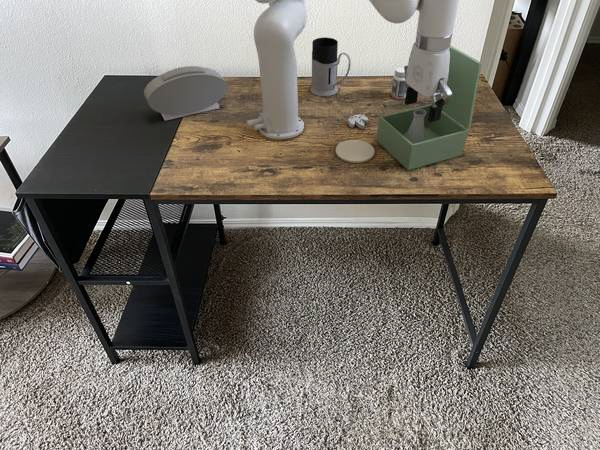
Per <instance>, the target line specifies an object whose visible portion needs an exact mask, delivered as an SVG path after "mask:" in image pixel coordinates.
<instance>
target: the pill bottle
mask: <svg viewBox="0 0 600 450" xmlns="http://www.w3.org/2000/svg"><path fill="white" fill-rule="evenodd" d="M404 67H405V66H398V67H395V69H394V75H393V76H392V85H391V92H390V96H391V97H392V98H394V99H397V100H403V99H404V100H405V98H406V90H407V89H406V86H405V85H406V80H405V75H406V74H405V71H404Z"/></svg>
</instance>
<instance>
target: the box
mask: <svg viewBox="0 0 600 450" xmlns="http://www.w3.org/2000/svg"><path fill="white" fill-rule="evenodd" d="M430 106H432V103H430V104H426V105H422V106H417V107H413V108H409V109H405V110H401V111H396V112H393V113H388V114H384V115H380V116H379V117H378V125H377V133H376V142H378V143H379V145H381V146H382V147H383V148H384V149H385V150H386V151H387V152H388V153H389V154H390V155H391V156H392V157H393V158H395V160H396V161H398V163H400V164H401V165H402V166H403V167H404V168H405V170H407V171H411V170H414V169H415V170H416V169H419V168H421V167H425V166H428V165H432V164H435V163H439V162H443V161H446V160H450V159H454V158H457V157H461V156H463V153H464V149H465V147H466V142H467V140H468V134H469V129H467V128H465V127H464V126H462V125H461V124H460V123H458V122H457V121H456V120H454V119H453V118H451V117H450V116H449V115H447V114H446V113H445V112H443V111H442V113H441V118H440V120H438V121H434V122H428V115H429V109H430ZM415 109H423V110H425V111H426V116H425V117H424V128H425V134H426V139H427V140H426V141H422V142H419V143H415V144H412V143H411V142H410V141H409V140H408V139H407V138H406V137H404V136H405V134H406V133H407V131H408V129H409V128H410V126H411V124H412V121H413V118H414V114H413V112H414V110H415Z"/></svg>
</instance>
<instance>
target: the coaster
mask: <svg viewBox="0 0 600 450" xmlns="http://www.w3.org/2000/svg"><path fill="white" fill-rule="evenodd" d="M375 151H376V150H375V148H374V146H373V145H372V144H371V143H369V142H367V141H364V140H360V139H348V140H344V141H342V142H339V143H338V144H337V145H336V147H335V155H336V157H337V158H338V159H340V160H342V161H344V162H346V163H352V164H360V163H361V164H363V163H366V162H368V161H370V160H372V159H373V158H374V156H375Z"/></svg>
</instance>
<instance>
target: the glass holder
mask: <svg viewBox="0 0 600 450" xmlns="http://www.w3.org/2000/svg"><path fill="white" fill-rule="evenodd" d="M311 44H312V46H311V47H312V50H311V87H310V92H311V94H313V95H315V96H318V97H330V96H335V95H336V94H337V93H338V91H339V88H338V84H339V83H341V82H342V81H344V80H345V79H347V77H348V75H349V73H350V70H351V64H352V61H351V57H350V55H349V54H348V53H347V52H341V53H340V54H339V55H338V47H339V41H338V40H337V39H336V38H333V37H327V36H326V37H318V38H315V39H314V40H312V43H311ZM343 55H344V56H345V57H347V60H348V67H347V70H346V73H345V75H344V76H343V78H342V79H340V80H338V66H339V65H340V62H341V56H343Z"/></svg>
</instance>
